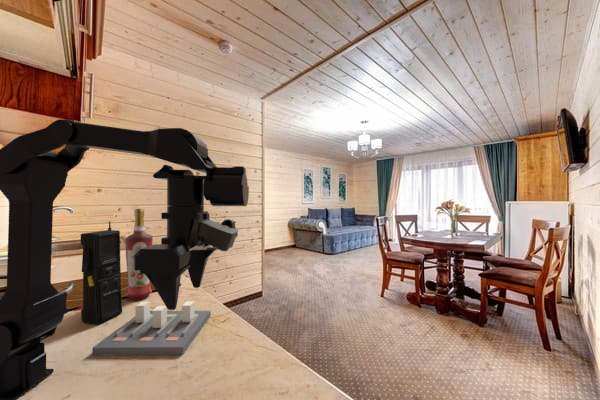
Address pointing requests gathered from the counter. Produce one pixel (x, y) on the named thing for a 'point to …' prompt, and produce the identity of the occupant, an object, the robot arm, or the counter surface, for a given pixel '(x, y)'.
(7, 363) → the robot arm
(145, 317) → the block
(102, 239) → the portable radio
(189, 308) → the block
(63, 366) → the counter surface
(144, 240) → the liquor
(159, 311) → the breaker middle
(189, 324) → the panel
